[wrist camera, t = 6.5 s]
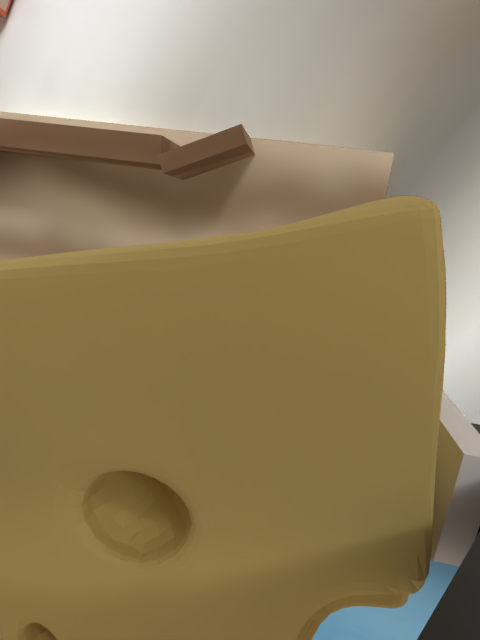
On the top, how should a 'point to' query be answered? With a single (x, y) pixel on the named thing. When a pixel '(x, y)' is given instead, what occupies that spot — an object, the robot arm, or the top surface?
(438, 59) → the top surface
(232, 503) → the cheese
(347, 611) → the casserole dish
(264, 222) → the slot board
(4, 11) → the cracker box
